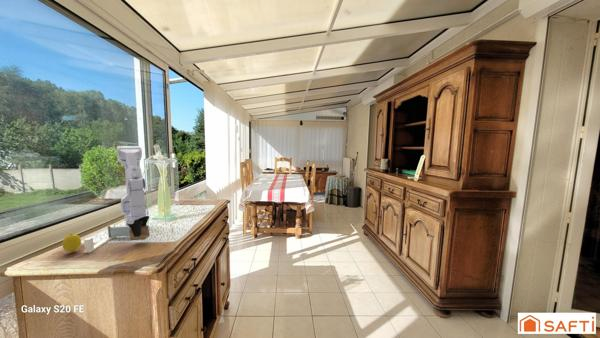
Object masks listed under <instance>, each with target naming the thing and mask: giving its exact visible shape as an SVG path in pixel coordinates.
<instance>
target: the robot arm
mask: <svg viewBox="0 0 600 338" xmlns="http://www.w3.org/2000/svg"><path fill="white" fill-rule="evenodd" d="M116 154H117V160H118V163H121V164H123V166H124V171H125V186H126V195H124V196H123V197H121V199H120V210H121V213H122V214H124V220H125V226H129V227H130V228H131V230H132V232H133V235H134V237H139V236H140V234H141V226H148V221H149V219H150V215H149V210H148V209H146V194H145V193H146V188H147V187H146V185H147V184H146V179H145V177H144V176H143V172H142V169H141V168H140V167H139V166H138V163H139V162H141V160H142V157H143V150H142V146H139V145H138V146H124V145H123V146H119V145H118V146H117V147H116Z"/></svg>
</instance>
